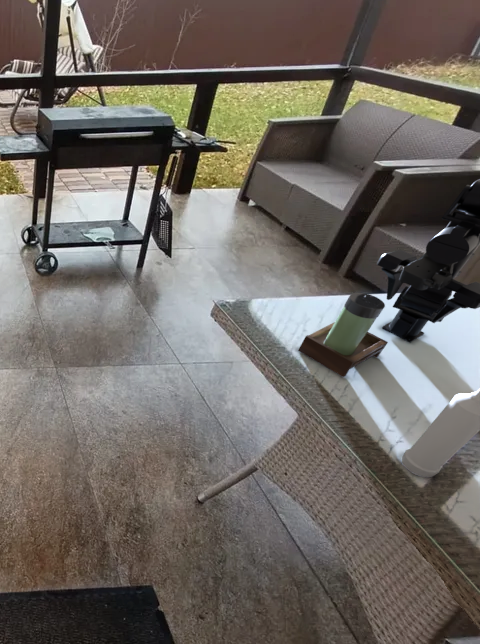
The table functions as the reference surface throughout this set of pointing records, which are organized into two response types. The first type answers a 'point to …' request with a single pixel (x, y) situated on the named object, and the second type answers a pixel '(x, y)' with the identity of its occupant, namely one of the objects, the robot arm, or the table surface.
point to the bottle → (445, 435)
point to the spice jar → (353, 322)
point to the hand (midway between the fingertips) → (410, 310)
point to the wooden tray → (332, 358)
